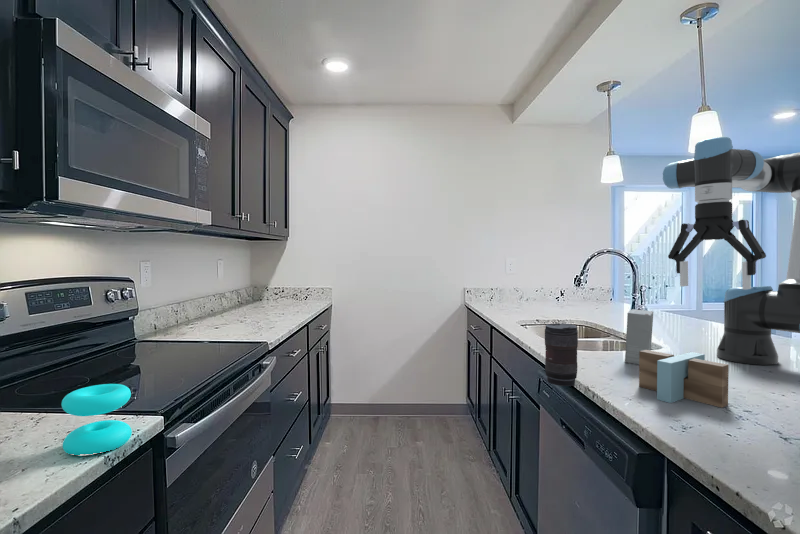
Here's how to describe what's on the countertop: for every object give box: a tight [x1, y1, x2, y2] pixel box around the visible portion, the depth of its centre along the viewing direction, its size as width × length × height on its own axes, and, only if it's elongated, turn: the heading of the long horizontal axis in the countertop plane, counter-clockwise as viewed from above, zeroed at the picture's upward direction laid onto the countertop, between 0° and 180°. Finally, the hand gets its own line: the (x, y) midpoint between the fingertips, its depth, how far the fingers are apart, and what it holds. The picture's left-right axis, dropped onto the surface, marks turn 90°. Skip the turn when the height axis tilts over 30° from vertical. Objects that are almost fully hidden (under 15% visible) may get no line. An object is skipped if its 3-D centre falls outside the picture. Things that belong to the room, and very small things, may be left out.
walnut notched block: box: [638, 350, 730, 409], centre depth 102 cm, size 3×18×9 cm, turn 32°
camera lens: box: [544, 322, 579, 387], centre depth 113 cm, size 8×8×15 cm
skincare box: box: [624, 309, 654, 365], centre depth 135 cm, size 8×7×16 cm
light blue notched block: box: [656, 351, 706, 404], centre depth 103 cm, size 16×3×9 cm, turn 122°
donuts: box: [61, 383, 133, 455], centre depth 76 cm, size 10×10×10 cm
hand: (713, 287), depth 108 cm, fingers open, 13 cm apart
